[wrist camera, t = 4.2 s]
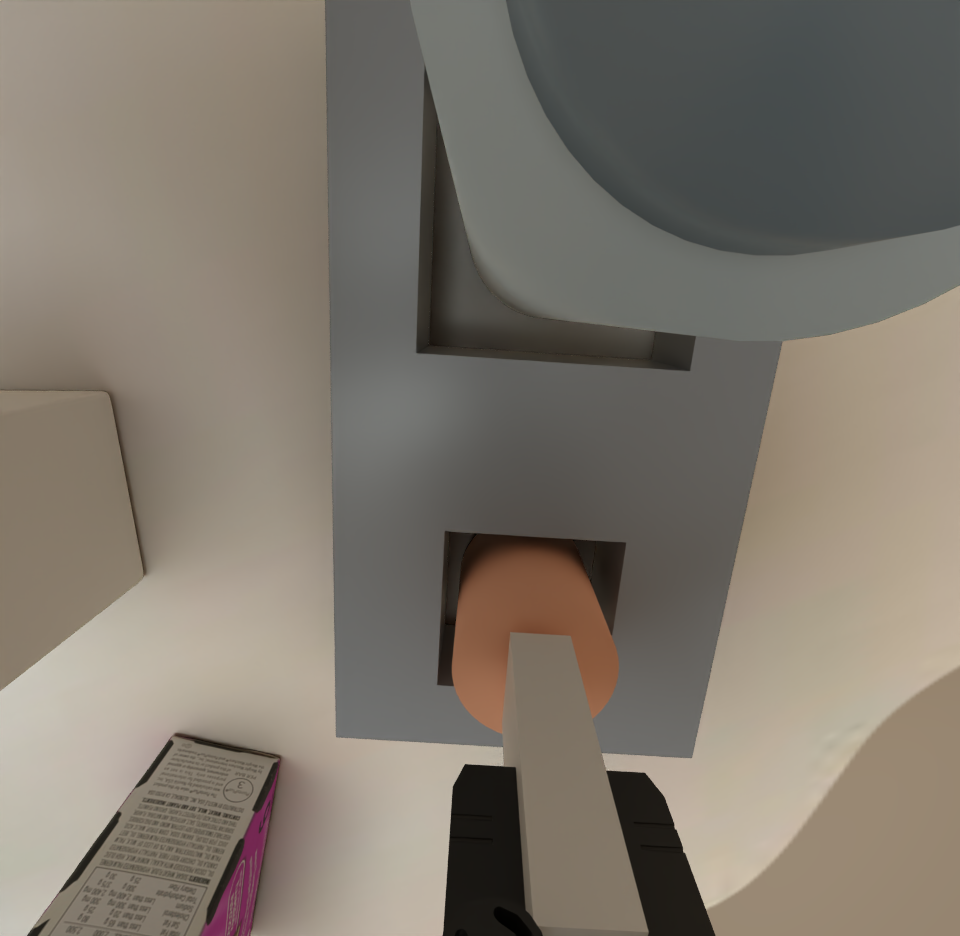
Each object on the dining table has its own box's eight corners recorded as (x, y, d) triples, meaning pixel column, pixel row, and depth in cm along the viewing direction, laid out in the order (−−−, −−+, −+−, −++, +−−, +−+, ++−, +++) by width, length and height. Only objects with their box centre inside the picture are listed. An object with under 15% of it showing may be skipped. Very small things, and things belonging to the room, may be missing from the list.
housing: (360, 7, 15) (323, -80, 12) (781, 37, 15) (865, -42, 12) (359, 669, 21) (336, 737, 18) (659, 688, 21) (691, 758, 18)
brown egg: (464, 512, 19) (455, 591, 13) (589, 520, 19) (629, 602, 13) (457, 622, 20) (447, 734, 15) (575, 629, 20) (607, 743, 15)
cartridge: (473, 132, 16) (366, -1526, 2) (646, 144, 16) (2092, -1354, 2) (464, 313, 17) (361, 321, 3) (622, 323, 17) (1268, 379, 3)
